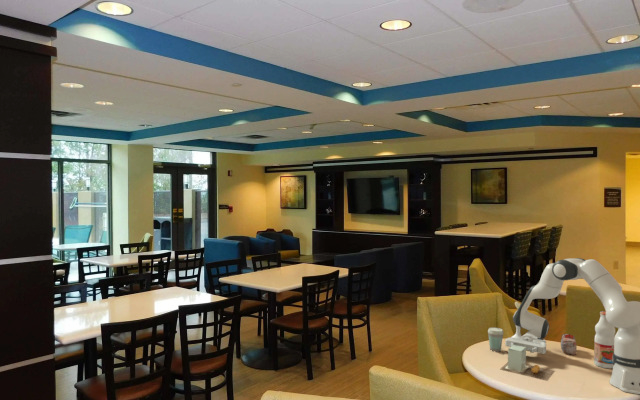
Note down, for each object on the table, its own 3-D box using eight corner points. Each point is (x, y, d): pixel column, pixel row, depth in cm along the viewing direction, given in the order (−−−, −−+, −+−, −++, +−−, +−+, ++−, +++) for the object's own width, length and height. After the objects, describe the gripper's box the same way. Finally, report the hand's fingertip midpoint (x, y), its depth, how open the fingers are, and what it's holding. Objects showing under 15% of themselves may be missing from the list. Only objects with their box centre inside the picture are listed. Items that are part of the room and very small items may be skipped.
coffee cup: (500, 353, 257) (501, 332, 257) (485, 350, 262) (485, 329, 262) (505, 349, 264) (505, 329, 264) (490, 346, 269) (490, 326, 269)
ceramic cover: (525, 366, 235) (526, 347, 235) (521, 371, 229) (521, 351, 229) (512, 363, 239) (513, 344, 239) (507, 368, 233) (508, 348, 233)
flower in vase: (530, 348, 266) (531, 305, 266) (509, 347, 268) (510, 304, 268) (525, 341, 279) (525, 300, 279) (505, 340, 281) (506, 299, 281)
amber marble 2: (540, 370, 230) (540, 364, 230) (539, 372, 228) (539, 366, 228) (534, 369, 232) (534, 363, 232) (532, 371, 230) (532, 365, 230)
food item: (577, 356, 254) (577, 338, 254) (561, 354, 257) (561, 336, 257) (574, 349, 267) (575, 332, 267) (559, 347, 270) (559, 330, 270)
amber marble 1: (538, 373, 227) (538, 367, 227) (537, 374, 225) (537, 368, 225) (532, 371, 229) (532, 365, 229) (530, 373, 227) (530, 367, 227)
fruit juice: (603, 361, 247) (604, 309, 246) (619, 367, 238) (620, 313, 237) (589, 363, 244) (590, 310, 244) (605, 369, 235) (606, 315, 235)
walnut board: (554, 372, 230) (554, 370, 230) (547, 382, 218) (547, 380, 218) (509, 362, 244) (509, 360, 244) (499, 371, 231) (499, 369, 231)
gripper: (509, 333, 258) (501, 339, 248) (548, 340, 246) (542, 347, 235) (509, 344, 259) (501, 350, 248) (548, 352, 246) (542, 359, 235)
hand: (521, 349), depth 241 cm, fingers open, 8 cm apart
